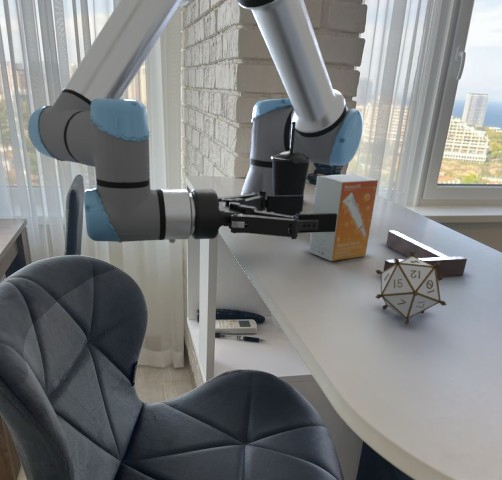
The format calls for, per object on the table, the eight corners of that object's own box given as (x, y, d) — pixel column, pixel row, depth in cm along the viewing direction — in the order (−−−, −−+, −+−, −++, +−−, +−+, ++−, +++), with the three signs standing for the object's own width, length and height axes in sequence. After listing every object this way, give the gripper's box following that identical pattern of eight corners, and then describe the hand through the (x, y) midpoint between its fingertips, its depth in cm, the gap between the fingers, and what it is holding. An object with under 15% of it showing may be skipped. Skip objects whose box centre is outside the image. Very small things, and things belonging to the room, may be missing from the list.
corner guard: (337, 247, 92) (339, 232, 91) (403, 244, 96) (406, 230, 95) (386, 280, 77) (389, 262, 76) (463, 275, 81) (467, 258, 80)
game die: (391, 334, 68) (397, 265, 70) (454, 333, 63) (459, 257, 65) (357, 318, 62) (365, 241, 64) (425, 314, 56) (431, 230, 58)
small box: (331, 262, 84) (342, 181, 78) (307, 252, 88) (315, 175, 82) (366, 256, 88) (379, 179, 82) (342, 246, 92) (352, 173, 87)
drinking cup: (277, 221, 107) (285, 119, 98) (310, 227, 104) (321, 122, 95) (259, 228, 101) (265, 120, 92) (293, 235, 98) (303, 123, 89)
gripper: (177, 219, 90) (289, 216, 96) (207, 263, 68) (348, 257, 74) (176, 175, 86) (292, 176, 92) (208, 208, 65) (355, 206, 71)
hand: (317, 212), depth 83 cm, fingers open, 13 cm apart
